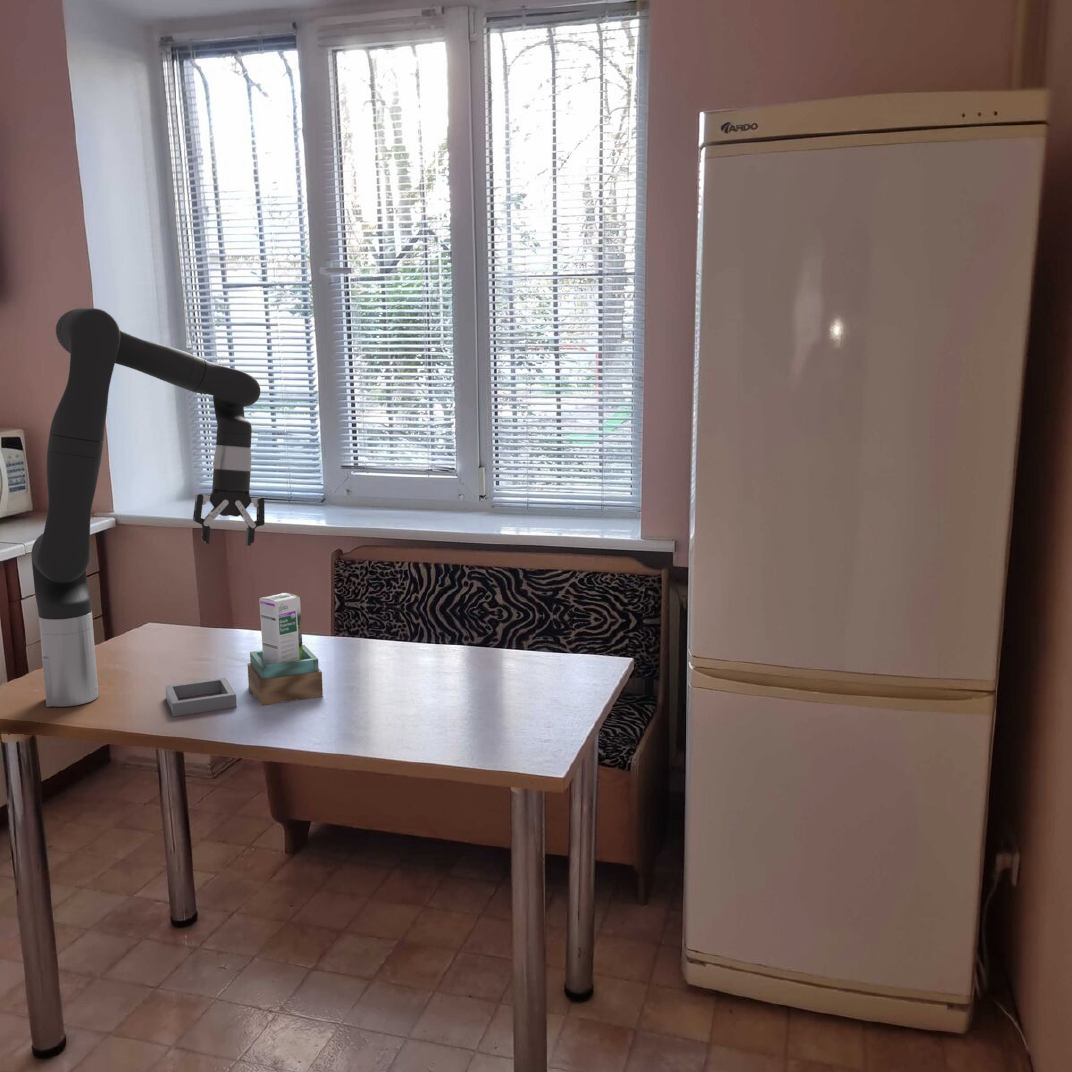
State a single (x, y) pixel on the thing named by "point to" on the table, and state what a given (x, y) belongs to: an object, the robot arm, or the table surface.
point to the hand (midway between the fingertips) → (227, 544)
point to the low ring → (203, 703)
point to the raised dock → (284, 678)
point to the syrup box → (281, 628)
